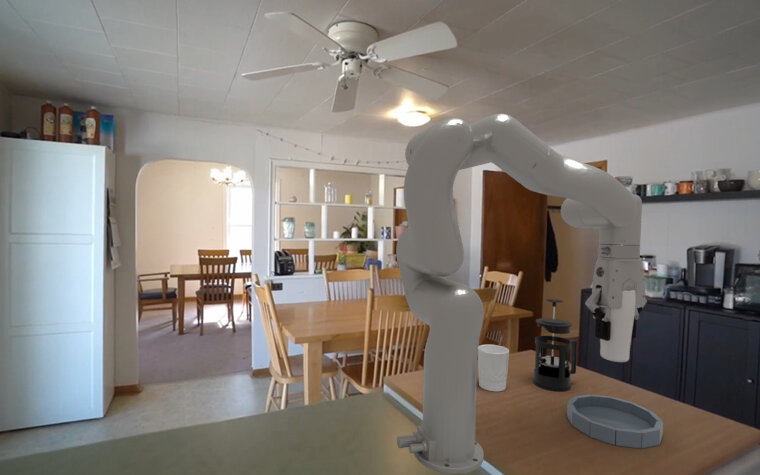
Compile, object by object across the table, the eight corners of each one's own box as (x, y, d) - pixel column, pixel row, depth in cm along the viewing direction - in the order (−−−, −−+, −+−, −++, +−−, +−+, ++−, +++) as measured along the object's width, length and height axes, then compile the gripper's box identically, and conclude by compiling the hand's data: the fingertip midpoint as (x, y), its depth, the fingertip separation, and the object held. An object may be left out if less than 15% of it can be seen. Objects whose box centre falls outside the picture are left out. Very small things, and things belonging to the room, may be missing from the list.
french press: (542, 392, 102) (545, 302, 101) (524, 378, 111) (526, 296, 110) (584, 390, 103) (587, 302, 103) (563, 377, 113) (565, 295, 112)
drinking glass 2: (639, 365, 81) (642, 291, 80) (602, 362, 82) (605, 289, 82) (625, 355, 87) (628, 286, 87) (591, 352, 89) (594, 285, 88)
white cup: (470, 383, 107) (471, 346, 106) (493, 379, 110) (494, 343, 110) (490, 394, 99) (491, 355, 99) (514, 389, 103) (515, 351, 103)
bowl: (616, 453, 74) (617, 437, 74) (551, 412, 90) (551, 399, 90) (682, 440, 79) (682, 425, 79) (609, 403, 96) (609, 391, 96)
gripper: (601, 254, 78) (598, 345, 78) (666, 254, 83) (662, 340, 83) (572, 252, 85) (569, 335, 85) (633, 252, 90) (630, 330, 91)
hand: (615, 337), depth 84 cm, fingers closed on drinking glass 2, 6 cm apart
